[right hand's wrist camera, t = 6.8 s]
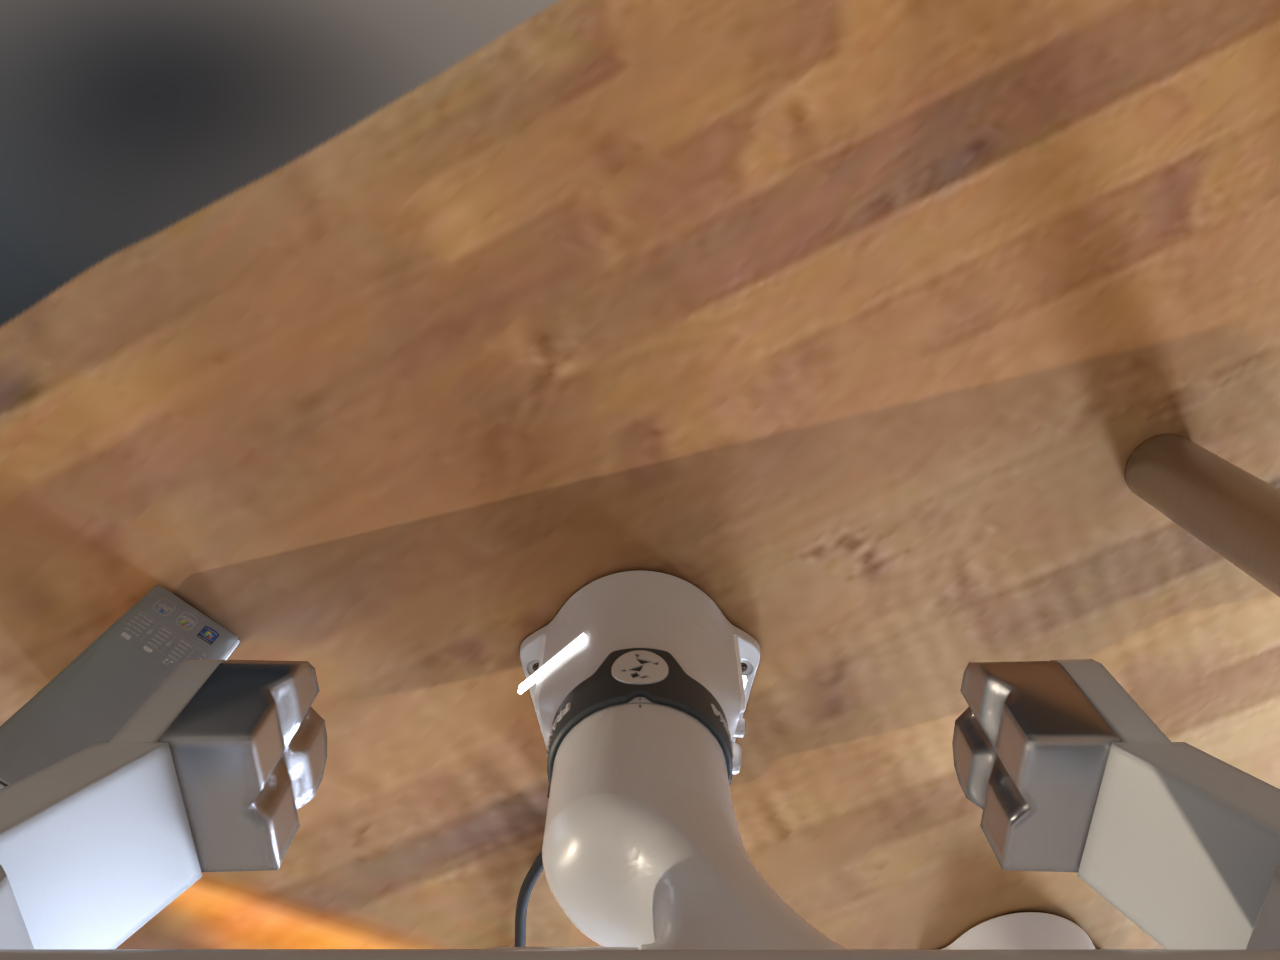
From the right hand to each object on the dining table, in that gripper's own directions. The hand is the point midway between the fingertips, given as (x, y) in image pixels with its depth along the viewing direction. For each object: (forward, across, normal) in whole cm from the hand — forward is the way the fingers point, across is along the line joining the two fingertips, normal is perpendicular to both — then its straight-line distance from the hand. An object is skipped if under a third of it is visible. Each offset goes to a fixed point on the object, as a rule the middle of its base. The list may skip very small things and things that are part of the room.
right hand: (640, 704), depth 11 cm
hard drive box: (+48, -39, -33) cm, 70 cm away
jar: (+48, +38, -15) cm, 63 cm away
